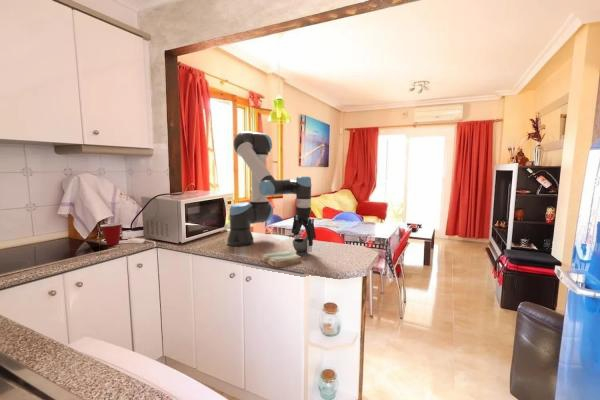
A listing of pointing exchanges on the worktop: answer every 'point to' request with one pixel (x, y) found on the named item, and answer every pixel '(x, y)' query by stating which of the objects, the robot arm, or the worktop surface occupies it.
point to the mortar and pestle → (300, 246)
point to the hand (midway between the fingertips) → (303, 249)
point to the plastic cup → (112, 233)
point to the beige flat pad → (280, 258)
